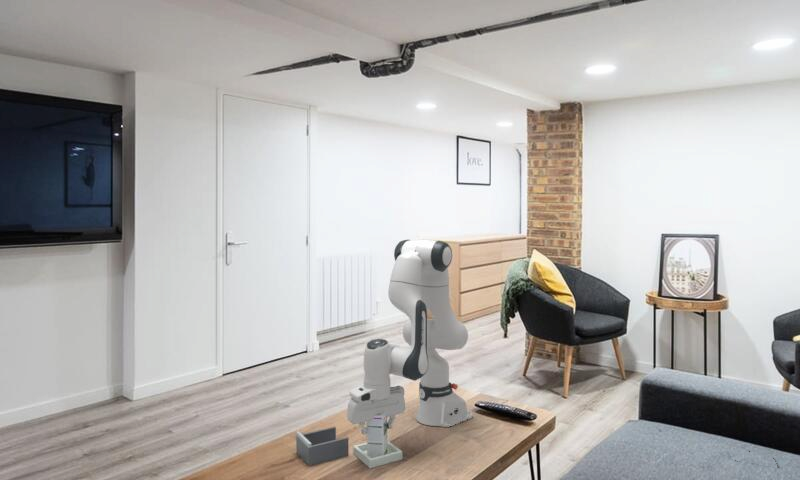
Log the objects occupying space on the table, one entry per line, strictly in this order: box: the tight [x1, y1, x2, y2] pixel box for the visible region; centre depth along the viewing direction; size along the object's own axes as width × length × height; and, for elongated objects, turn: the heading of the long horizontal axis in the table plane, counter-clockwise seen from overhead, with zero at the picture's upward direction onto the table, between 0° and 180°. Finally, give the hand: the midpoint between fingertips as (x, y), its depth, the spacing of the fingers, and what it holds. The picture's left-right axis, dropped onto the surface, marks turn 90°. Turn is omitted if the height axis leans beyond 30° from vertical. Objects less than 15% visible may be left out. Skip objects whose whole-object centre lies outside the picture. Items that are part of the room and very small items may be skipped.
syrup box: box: [366, 413, 388, 458], centre depth 182 cm, size 6×6×14 cm
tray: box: [352, 439, 403, 469], centre depth 183 cm, size 12×12×3 cm
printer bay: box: [295, 425, 349, 467], centre depth 184 cm, size 14×11×7 cm
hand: (376, 430), depth 182 cm, fingers closed on syrup box, 8 cm apart
